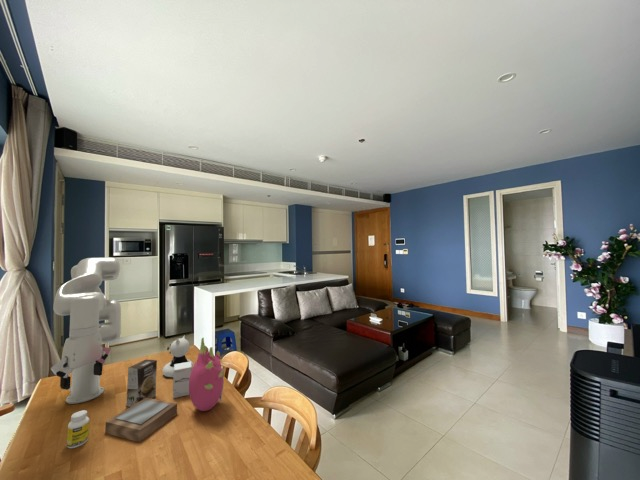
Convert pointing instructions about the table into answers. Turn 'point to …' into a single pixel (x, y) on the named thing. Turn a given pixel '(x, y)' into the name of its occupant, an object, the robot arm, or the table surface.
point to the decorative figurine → (177, 355)
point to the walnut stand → (141, 419)
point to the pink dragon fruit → (206, 379)
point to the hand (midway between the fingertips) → (82, 381)
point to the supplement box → (181, 379)
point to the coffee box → (141, 381)
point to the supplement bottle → (78, 429)
